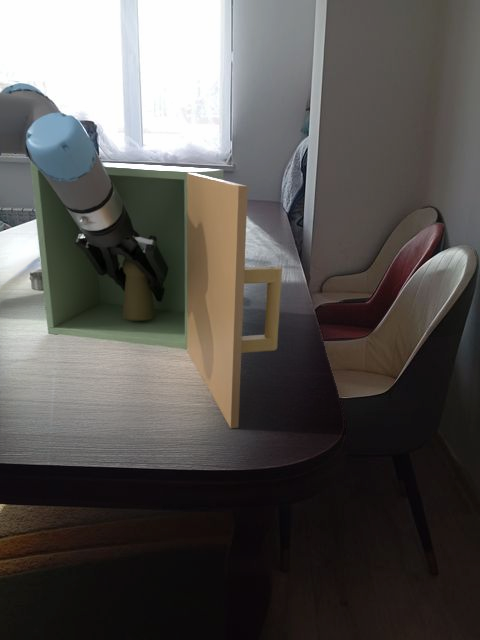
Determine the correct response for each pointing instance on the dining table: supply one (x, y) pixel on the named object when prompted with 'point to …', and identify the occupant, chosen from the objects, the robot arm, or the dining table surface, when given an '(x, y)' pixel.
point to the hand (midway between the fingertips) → (146, 293)
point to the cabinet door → (223, 288)
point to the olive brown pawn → (137, 294)
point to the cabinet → (101, 291)
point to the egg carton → (36, 279)
